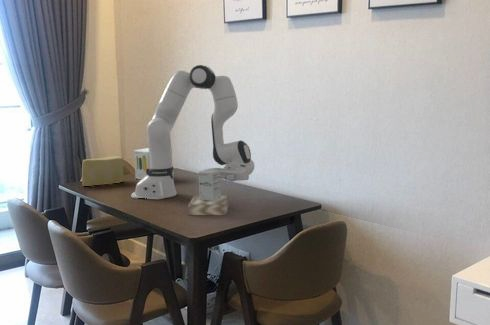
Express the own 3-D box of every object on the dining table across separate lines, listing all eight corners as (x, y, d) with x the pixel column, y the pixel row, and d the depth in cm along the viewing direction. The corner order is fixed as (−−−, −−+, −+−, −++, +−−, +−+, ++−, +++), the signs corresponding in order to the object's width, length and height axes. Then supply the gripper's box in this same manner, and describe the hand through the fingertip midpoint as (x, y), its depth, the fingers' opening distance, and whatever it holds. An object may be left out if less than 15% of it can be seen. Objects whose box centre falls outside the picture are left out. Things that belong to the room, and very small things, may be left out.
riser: (188, 215, 217) (188, 203, 216) (194, 205, 233) (193, 194, 232) (225, 214, 216) (225, 203, 215) (228, 205, 232) (228, 194, 231)
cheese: (85, 188, 273) (83, 161, 270) (80, 185, 280) (78, 159, 278) (125, 183, 285) (123, 156, 283) (118, 180, 293) (116, 154, 291)
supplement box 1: (134, 179, 294) (133, 150, 291) (152, 176, 304) (151, 147, 301) (149, 182, 285) (147, 151, 283) (167, 178, 295) (166, 149, 292)
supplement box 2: (198, 200, 222) (197, 171, 220) (207, 196, 229) (206, 168, 227) (213, 201, 219) (212, 172, 217) (221, 197, 225) (221, 169, 223)
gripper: (214, 163, 245) (197, 168, 233) (251, 166, 235) (236, 171, 223) (214, 176, 246) (198, 182, 234) (251, 180, 236) (236, 185, 224)
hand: (217, 177), depth 229 cm, fingers open, 8 cm apart
